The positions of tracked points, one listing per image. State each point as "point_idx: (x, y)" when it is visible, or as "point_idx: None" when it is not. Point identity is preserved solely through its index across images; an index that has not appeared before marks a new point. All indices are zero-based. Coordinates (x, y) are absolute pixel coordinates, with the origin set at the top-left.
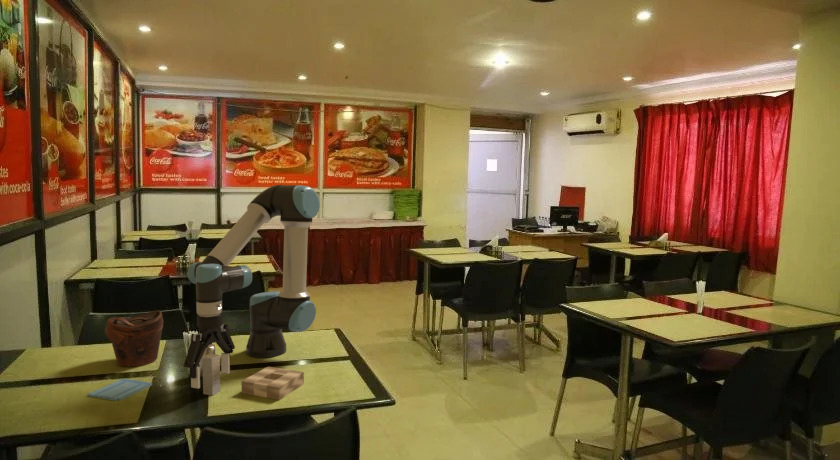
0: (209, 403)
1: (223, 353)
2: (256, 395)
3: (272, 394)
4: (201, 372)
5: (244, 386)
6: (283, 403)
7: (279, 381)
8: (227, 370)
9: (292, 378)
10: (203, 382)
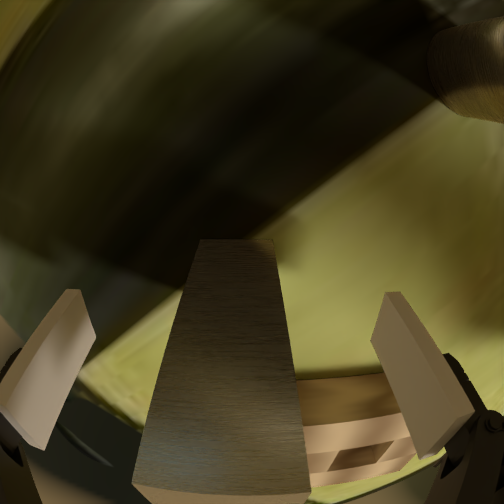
0: (133, 333)
1: (446, 432)
2: None
3: None
4: (443, 49)
5: None
6: None
7: (317, 478)
8: (378, 351)
9: (347, 481)
10: (187, 283)
